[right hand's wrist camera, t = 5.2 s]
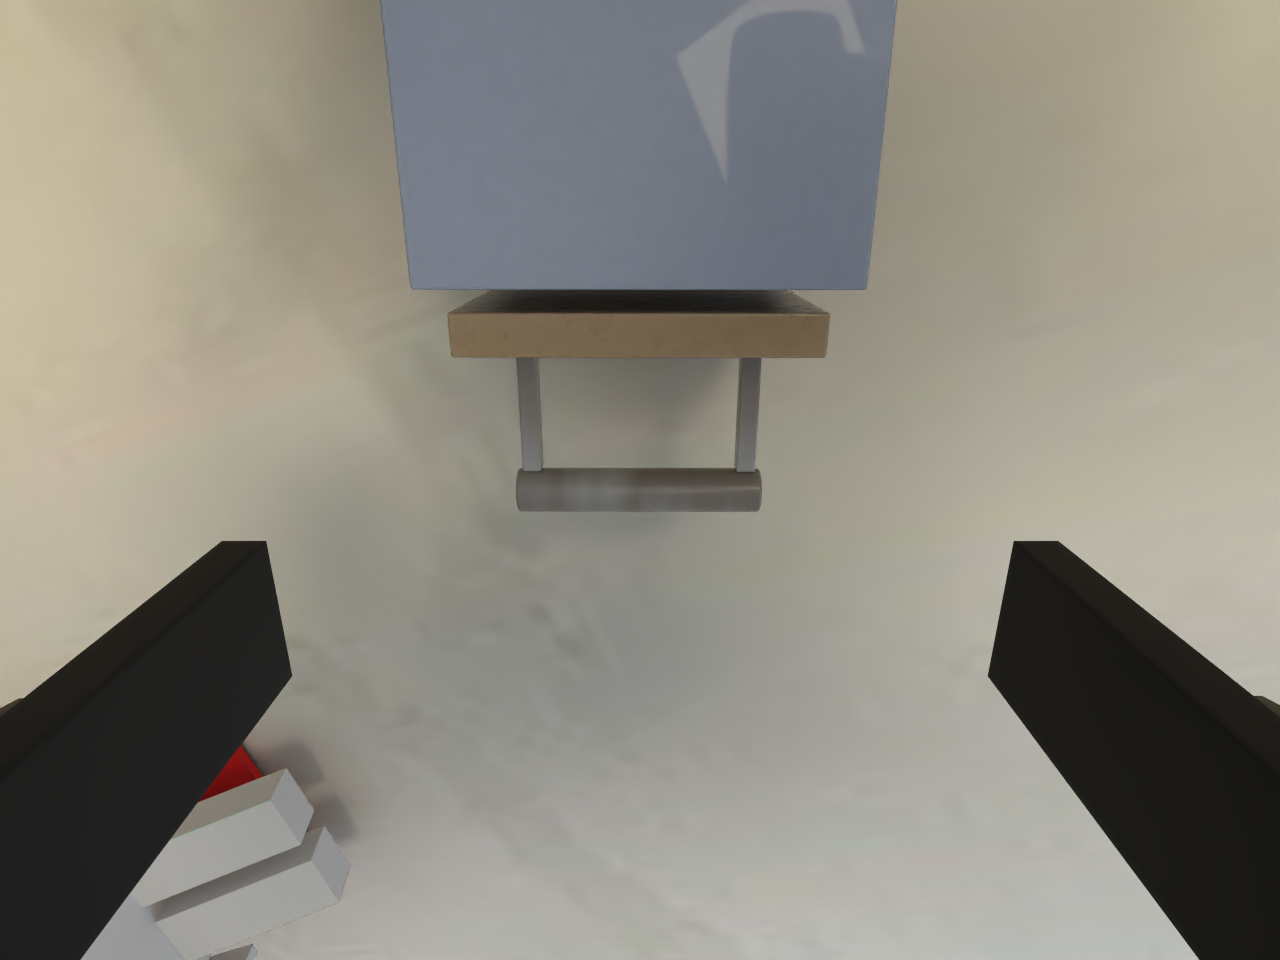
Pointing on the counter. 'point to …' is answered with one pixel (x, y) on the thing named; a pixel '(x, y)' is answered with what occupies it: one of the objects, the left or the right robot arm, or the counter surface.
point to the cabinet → (638, 141)
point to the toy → (229, 873)
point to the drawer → (638, 331)
